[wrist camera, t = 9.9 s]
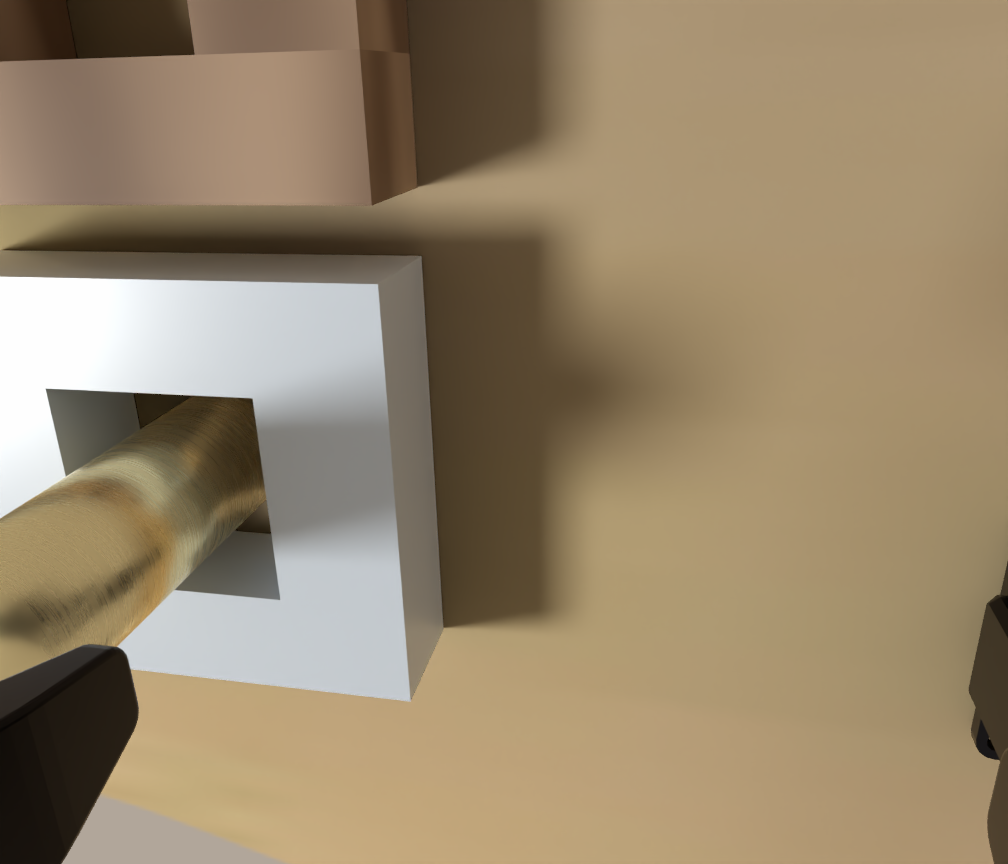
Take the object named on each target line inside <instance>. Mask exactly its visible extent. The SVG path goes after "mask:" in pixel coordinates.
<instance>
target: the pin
mask: <svg viewBox="0 0 1008 864" xmlns="http://www.w3.org/2000/svg"><path fill="white" fill-rule="evenodd" d="M265 500H266V492H265V485H264V478H263V470H262V463H261V456H260V449H259V442H258V434H257V427H256V420H255V413H254V406H253V399H252V398H235V397H214V396H192V397H190V398H189V399H187V400H186V401H184V402H183V403H181V404H179V405H178V406H176V407H175V408H173V409H172V410H170V411H168V412H167V413H165V414H164V415H162V416H161V417H159V418H157V419H156V420H154V421H153V422H151V423H150V424H148V425H146V426H145V427H143V428H142V429H140V430H139V431H137V432H135V433H134V434H132V435H131V436H129V437H128V438H126V439H124V440H123V441H121V442H120V443H118V444H117V445H115V446H113V447H112V448H110V449H109V450H107V451H106V452H104V453H102V454H101V455H99V456H98V457H96V458H95V459H93V460H91V461H90V462H88V463H87V464H85V465H84V466H82V467H80V468H79V469H77V470H76V471H74V472H73V473H71V474H69V475H68V476H66V477H65V478H63V479H62V480H60V481H58V482H57V483H55V484H54V485H52V486H50V487H49V488H47V489H46V490H44V491H43V492H41V493H39V494H38V495H36V496H35V497H33V498H32V499H30V500H28V501H27V502H25V503H24V504H22V505H21V506H19V507H17V508H16V509H14V510H13V511H11V512H10V513H8V514H6V515H5V516H3V517H2V518H0V681H1V680H3V679H6V678H8V677H10V676H13V675H15V674H17V673H20V672H22V671H24V670H26V669H29V668H31V667H33V666H36V665H38V664H40V663H43V662H45V661H47V660H50V659H52V658H54V657H56V656H59V655H61V654H63V653H66V652H68V651H70V650H73V649H75V648H77V647H80V646H82V645H86V644H97V645H106V646H115V647H117V646H118V645H119V644H120V643H121V642H122V641H123V640H124V639H125V638H126V637H127V636H128V635H129V634H130V633H131V632H132V631H133V630H134V629H135V628H136V627H137V626H139V625H140V624H141V623H142V622H143V621H144V620H145V619H146V618H147V617H148V616H149V615H150V614H151V613H152V612H153V611H154V610H155V609H156V608H157V607H158V606H159V605H160V604H161V603H162V602H163V601H164V600H165V599H166V598H167V597H168V596H169V595H170V594H171V593H172V592H173V591H174V590H175V589H176V588H177V587H178V586H179V585H180V584H181V583H182V582H183V581H184V580H185V579H186V578H187V577H188V576H189V575H190V574H191V573H192V572H193V571H194V570H195V569H196V568H197V567H198V566H199V565H200V564H201V563H202V562H203V561H204V560H205V559H206V558H207V557H208V556H209V555H210V554H211V553H212V552H213V551H214V550H215V549H216V548H217V547H218V546H219V545H221V544H222V543H223V542H224V541H225V540H226V539H227V538H228V537H229V536H230V535H231V534H232V533H233V532H234V531H235V530H236V529H237V528H238V527H239V526H240V525H241V524H242V523H243V522H244V521H245V520H246V519H247V518H248V517H249V516H250V515H251V514H252V513H253V512H254V511H255V510H256V509H257V508H258V507H259V506H260V505H261V504H262V503H263V502H264V501H265Z"/></svg>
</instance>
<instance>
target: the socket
mask: <svg viewBox="0 0 1008 864" xmlns="http://www.w3.org/2000/svg"><path fill="white" fill-rule="evenodd" d="M133 393H151V394H172V395H193V396H214V397H235V398H252V399H253V406H254V413H255V420H256V427H257V434H258V442H259V449H260V456H261V463H262V470H263V478H264V485H265V492H266V499H267V506H268V514H269V521H270V528H271V534H266V533H253V532H241V531H234V532H233V533H232V534H231V535H230V536H229V537H228V538H227V539H226V540H225V541H224V542H223V543H222V544H221V545H219V546H218V547H217V548H216V549H215V550H214V551H213V552H212V553H211V554H210V555H209V556H208V557H207V558H206V559H205V560H204V561H203V562H202V563H201V564H200V565H199V566H198V567H197V568H196V569H195V570H194V571H193V572H192V573H191V574H190V575H189V576H188V577H187V578H186V579H185V580H184V581H183V582H182V583H181V584H180V585H179V586H178V587H177V588H176V589H175V590H174V591H173V592H172V593H171V594H170V595H169V596H168V597H167V598H166V599H165V600H164V601H163V602H162V603H161V604H160V605H159V606H158V607H157V608H156V609H155V610H154V611H153V612H152V613H151V614H150V615H149V616H148V617H147V618H146V619H145V620H144V621H143V622H142V623H141V624H140V625H139V626H137V627H136V628H135V629H134V630H133V631H132V632H131V633H130V634H129V635H128V636H127V637H126V638H125V639H124V640H123V641H122V642H121V643H120V644H119V645H118V646H117V647H118V648H120V649H122V650H123V651H124V652H125V653H126V655H127V657H128V660H129V665H130V669H134V670H143V671H151V672H160V673H169V674H177V675H186V676H195V677H203V678H212V679H221V680H229V681H238V682H246V683H255V684H264V685H272V686H281V687H290V688H298V689H307V690H316V691H324V692H333V693H342V694H350V695H359V696H368V697H376V698H385V699H394V700H402V701H411V699H412V697H413V695H414V693H415V691H416V688H417V686H418V684H419V682H420V680H421V677H422V675H423V673H424V671H425V669H426V666H427V664H428V662H429V660H430V658H431V655H432V653H433V651H434V649H435V647H436V644H437V642H438V640H439V638H440V636H441V633H442V631H443V613H442V596H441V579H440V562H439V545H438V528H437V511H436V494H435V477H434V459H433V442H432V425H431V408H430V391H429V374H428V357H427V340H426V323H425V306H424V289H423V272H422V256H393V255H318V254H242V253H167V252H91V251H16V250H0V518H2V517H3V516H5V515H6V514H8V513H10V512H11V511H13V510H14V509H16V508H17V507H19V506H21V505H22V504H24V503H25V502H27V501H28V500H30V499H32V498H33V497H35V496H36V495H38V494H39V493H41V492H43V491H44V490H46V489H47V488H49V487H50V486H52V485H54V484H55V483H57V482H58V481H60V480H62V479H63V478H65V477H66V476H68V475H69V474H71V473H73V472H74V471H76V470H77V469H79V468H80V467H82V466H84V465H85V464H87V463H88V462H90V461H91V460H93V459H95V458H96V457H98V456H99V455H101V454H102V453H104V452H106V451H107V450H109V449H110V448H112V447H113V446H115V445H117V444H118V443H120V442H121V441H123V440H124V439H126V438H128V437H129V436H131V435H132V434H134V433H135V432H137V431H139V430H140V426H139V420H138V415H137V410H136V405H135V400H134V394H133Z"/></svg>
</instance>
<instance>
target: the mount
mask: <svg viewBox="0 0 1008 864" xmlns="http://www.w3.org/2000/svg"><path fill="white" fill-rule="evenodd" d="M187 4H188V11H189V18H190V25H191V32H192V39H193V46H194V53H195V55H176V56H147V57H119V58H90V59H77V57H76V52H75V46H74V41H73V36H72V31H71V25H70V20H69V15H68V9H67V4H66V0H0V205H374V204H377V203H379V202H382V201H384V200H387V199H389V198H392V197H394V196H397V195H400V194H402V193H405V192H407V191H410V190H412V189H415V188H417V170H416V153H415V136H414V119H413V102H412V85H411V68H410V51H409V34H408V17H407V0H187Z"/></svg>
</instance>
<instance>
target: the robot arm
mask: <svg viewBox="0 0 1008 864" xmlns="http://www.w3.org/2000/svg"><path fill="white" fill-rule="evenodd" d="M969 693H970V695H971V698H972V700H973V702H974V704H975V706H976V709H975V714H974V718H973V723H972V727H971V736H972V738H973V740H974V743H975V745H976V747H977V749H978V750H979V752H980V753H981V754H982V755H984V756H985V757H988V758H991V759H995V760H1000V765H999V769H998V773H997V777H996V781H995V786H994V790H993V794H992V798H991V802H990V807H989V811H988V820H987V828H988V838H989V843H990V848H991V852H992V857H993V861H994V864H1008V563H1007V567H1006V572H1005V576H1004V581H1003V585H1002V590H1001V595H997V596H995V597H994V598H993V599H992V600H991V601H990V602H988V603H987V605H986V610H985V614H984V619H983V624H982V628H981V633H980V638H979V643H978V647H977V652H976V657H975V661H974V666H973V671H972V675H971V680H970V685H969ZM138 712H139V707H138V701H137V697H136V692H135V688H134V683H133V678H132V674H131V669H130V665H129V660H128V657H127V655H126V653H125V652H124V651H123V650H122V649H120V648H118V647H115V646H106V645H97V644H86V645H82V646H80V647H77V648H75V649H73V650H70V651H68V652H66V653H63V654H61V655H59V656H56V657H54V658H52V659H50V660H47V661H45V662H43V663H40V664H38V665H36V666H33V667H31V668H29V669H26V670H24V671H22V672H20V673H17V674H15V675H13V676H10V677H8V678H6V679H3V680H1V681H0V864H61V863H62V862H63V860H64V859H65V857H66V856H67V854H68V852H69V851H70V849H71V847H72V845H73V843H74V841H75V840H76V838H77V836H78V835H79V833H80V831H81V829H82V827H83V825H84V823H85V821H86V820H87V818H88V816H89V814H90V812H91V810H92V808H93V807H94V805H95V803H96V801H97V799H98V797H99V795H100V794H101V792H102V790H103V788H104V786H105V784H106V782H107V780H108V779H109V777H110V775H111V773H112V771H113V769H114V767H115V765H116V764H117V762H118V760H119V758H120V756H121V754H122V752H123V750H124V749H125V747H126V745H127V743H128V741H129V739H130V737H131V735H132V734H133V732H134V729H135V727H136V724H137V720H138ZM989 737H990V739H989Z"/></svg>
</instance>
